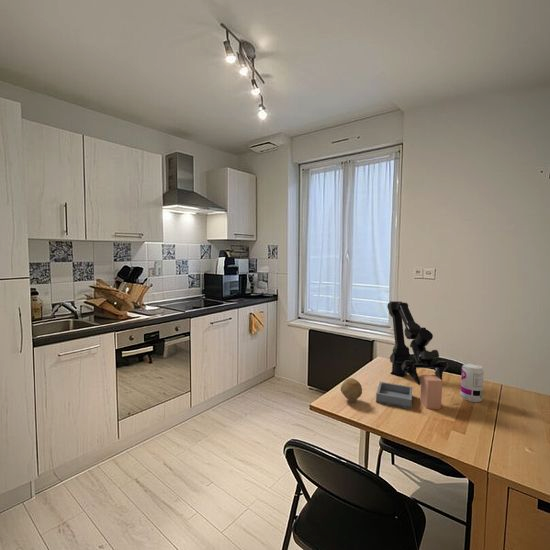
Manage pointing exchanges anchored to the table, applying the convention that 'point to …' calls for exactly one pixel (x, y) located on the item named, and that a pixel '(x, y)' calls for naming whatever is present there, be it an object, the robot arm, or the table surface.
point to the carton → (431, 391)
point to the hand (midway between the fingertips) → (430, 384)
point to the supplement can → (472, 382)
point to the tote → (394, 395)
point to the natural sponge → (351, 389)
